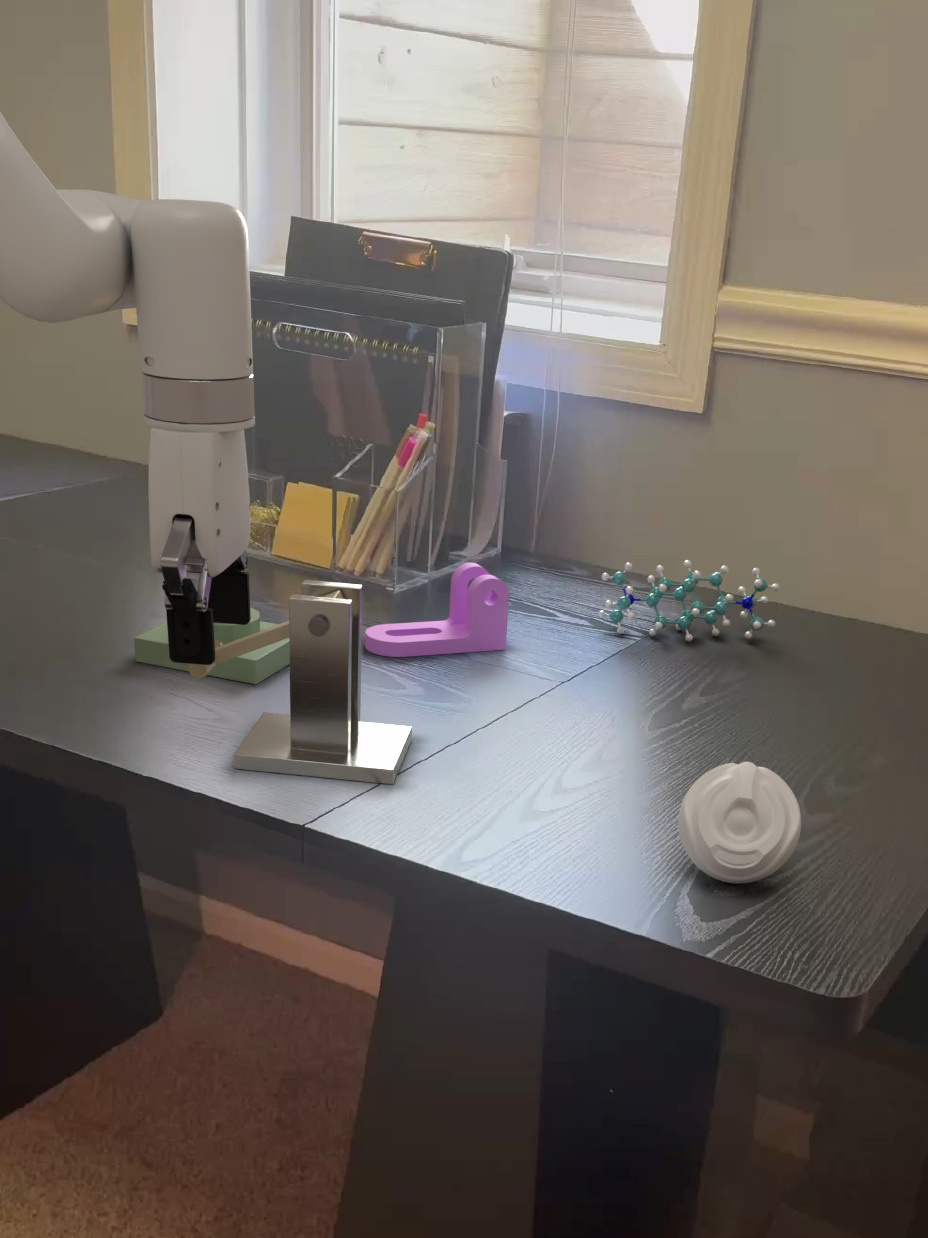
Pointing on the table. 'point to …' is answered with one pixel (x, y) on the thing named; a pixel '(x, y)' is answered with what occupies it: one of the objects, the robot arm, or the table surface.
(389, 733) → the bracket
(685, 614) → the molecule model
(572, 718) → the table surface
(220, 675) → the button box
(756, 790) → the motion sensor
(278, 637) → the lever
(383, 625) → the bracket
